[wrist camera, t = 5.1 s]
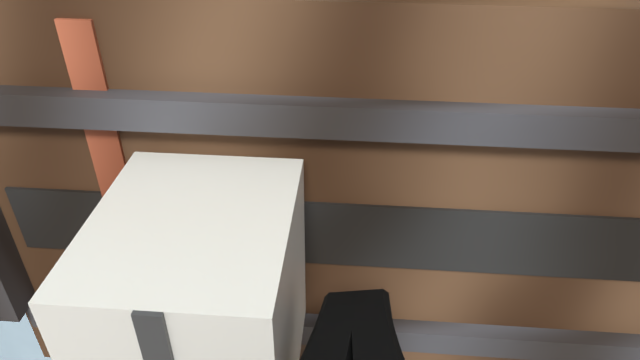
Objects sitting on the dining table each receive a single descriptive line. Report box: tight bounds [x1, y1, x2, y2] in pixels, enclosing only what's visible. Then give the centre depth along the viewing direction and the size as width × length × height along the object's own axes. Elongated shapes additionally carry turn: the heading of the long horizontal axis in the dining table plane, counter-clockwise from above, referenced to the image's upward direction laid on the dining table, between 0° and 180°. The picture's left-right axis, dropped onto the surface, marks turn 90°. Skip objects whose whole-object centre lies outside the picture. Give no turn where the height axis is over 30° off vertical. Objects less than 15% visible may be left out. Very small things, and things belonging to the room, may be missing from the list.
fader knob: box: [28, 152, 306, 360], centre depth 12 cm, size 4×5×5 cm
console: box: [0, 0, 640, 360], centre depth 15 cm, size 20×12×3 cm, turn 90°
